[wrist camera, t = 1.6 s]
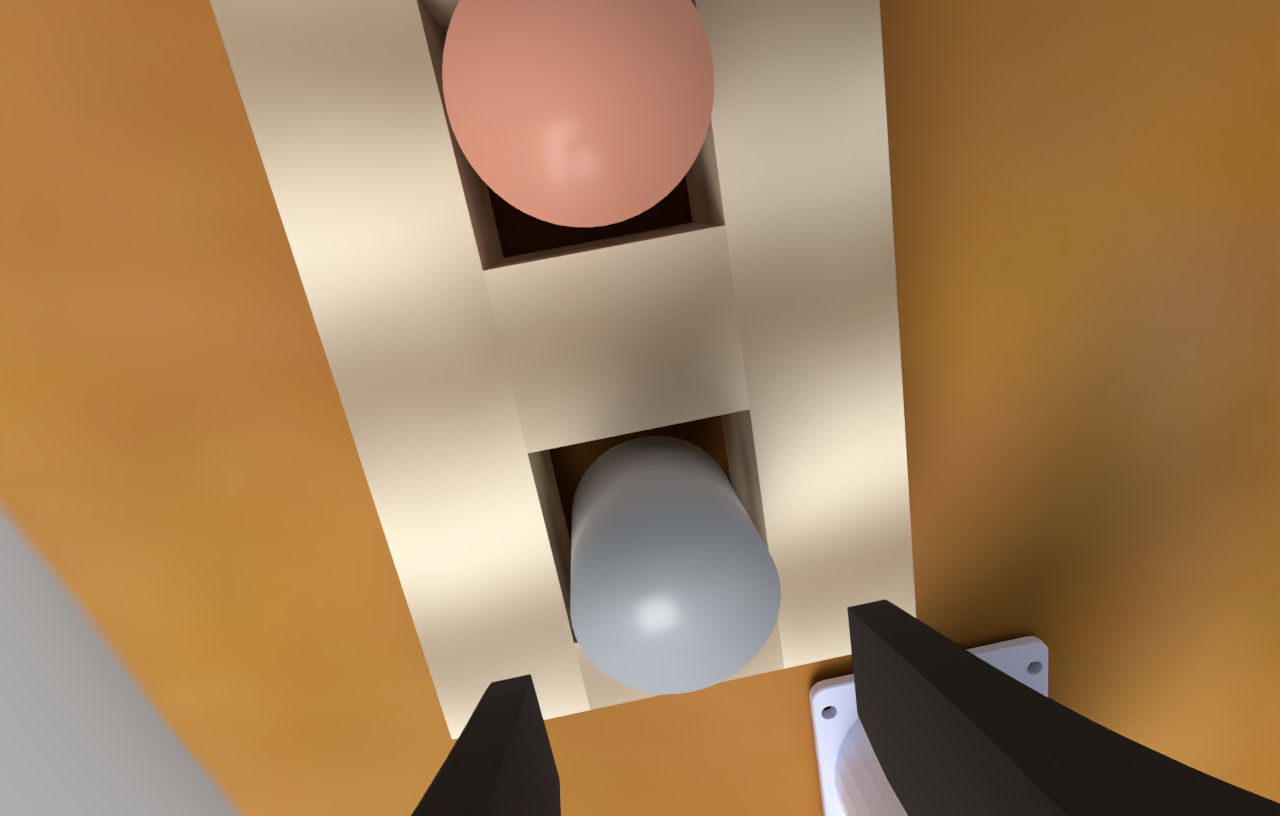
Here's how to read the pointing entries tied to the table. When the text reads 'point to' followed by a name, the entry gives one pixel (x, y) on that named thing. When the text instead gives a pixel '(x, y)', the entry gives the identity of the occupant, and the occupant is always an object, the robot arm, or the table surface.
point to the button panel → (596, 325)
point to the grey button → (667, 569)
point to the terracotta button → (579, 102)
